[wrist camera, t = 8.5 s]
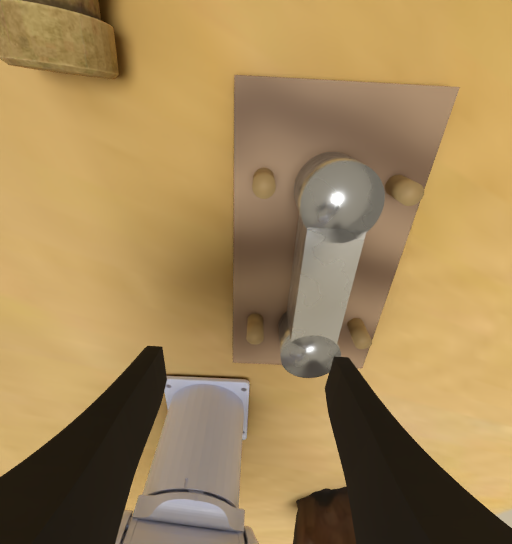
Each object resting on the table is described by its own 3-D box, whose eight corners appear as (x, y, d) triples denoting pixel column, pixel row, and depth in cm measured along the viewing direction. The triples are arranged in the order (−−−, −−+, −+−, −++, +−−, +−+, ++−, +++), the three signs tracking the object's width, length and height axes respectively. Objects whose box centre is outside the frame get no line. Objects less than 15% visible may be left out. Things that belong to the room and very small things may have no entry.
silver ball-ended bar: (325, 345, 23) (334, 379, 20) (276, 343, 23) (278, 376, 20) (371, 153, 15) (395, 163, 13) (298, 149, 15) (306, 159, 12)
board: (358, 359, 25) (370, 388, 22) (233, 353, 25) (230, 382, 22) (447, 88, 15) (488, 84, 12) (236, 76, 14) (230, 70, 12)
